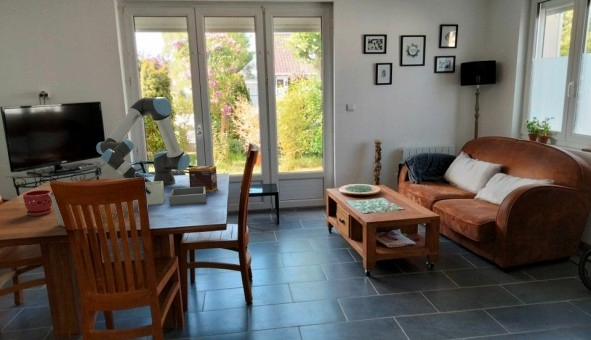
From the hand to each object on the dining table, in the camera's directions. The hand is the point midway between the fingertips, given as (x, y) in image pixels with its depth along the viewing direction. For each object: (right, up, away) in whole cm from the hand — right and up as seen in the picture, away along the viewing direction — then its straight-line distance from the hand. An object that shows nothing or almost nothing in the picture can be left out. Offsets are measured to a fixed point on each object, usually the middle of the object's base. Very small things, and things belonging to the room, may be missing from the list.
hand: (156, 194), depth 230 cm
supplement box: (+21, +1, +30) cm, 36 cm away
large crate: (+18, -4, +4) cm, 19 cm away
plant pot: (-57, -10, -18) cm, 60 cm away
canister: (-28, -13, -37) cm, 48 cm away
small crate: (-2, -5, +1) cm, 5 cm away
